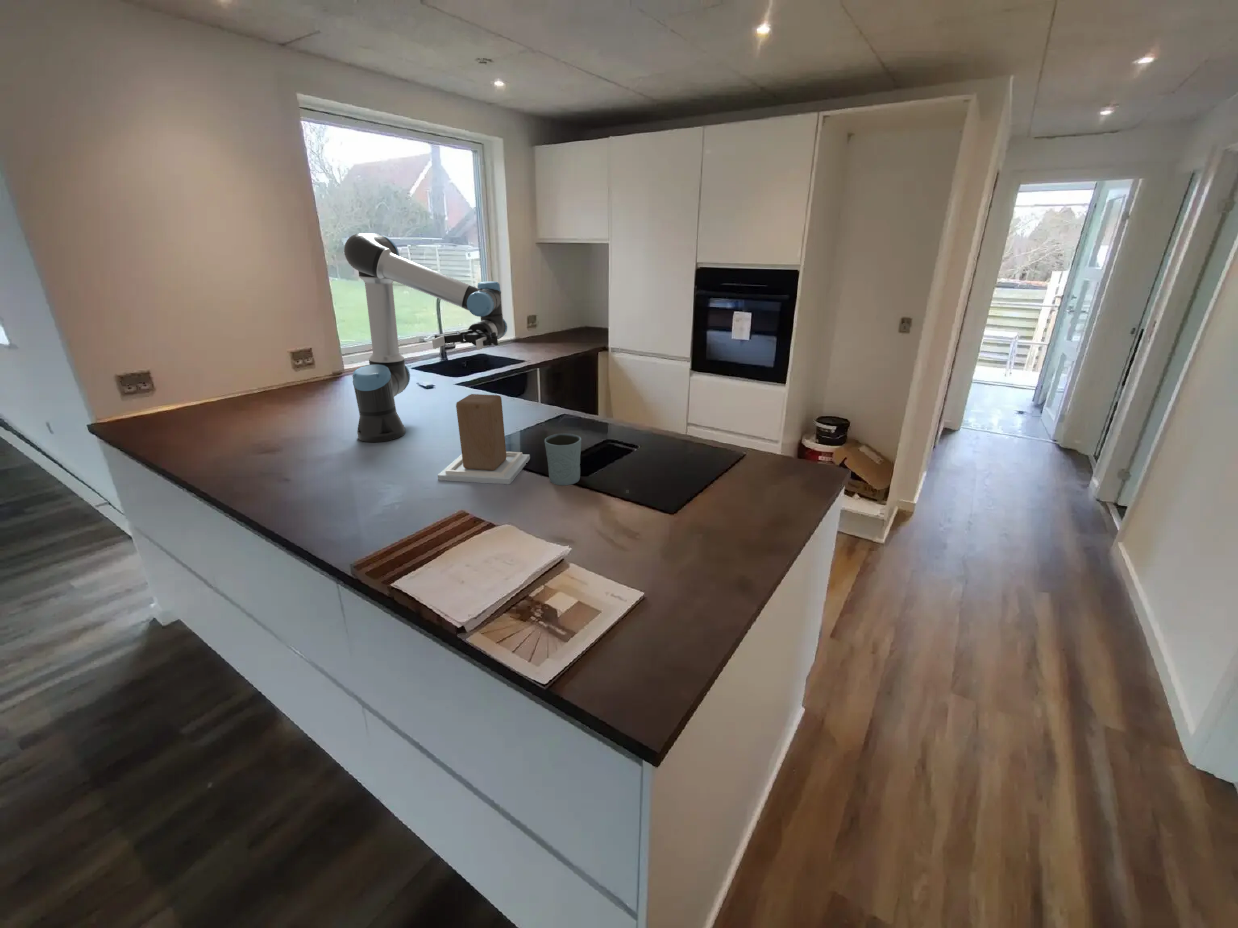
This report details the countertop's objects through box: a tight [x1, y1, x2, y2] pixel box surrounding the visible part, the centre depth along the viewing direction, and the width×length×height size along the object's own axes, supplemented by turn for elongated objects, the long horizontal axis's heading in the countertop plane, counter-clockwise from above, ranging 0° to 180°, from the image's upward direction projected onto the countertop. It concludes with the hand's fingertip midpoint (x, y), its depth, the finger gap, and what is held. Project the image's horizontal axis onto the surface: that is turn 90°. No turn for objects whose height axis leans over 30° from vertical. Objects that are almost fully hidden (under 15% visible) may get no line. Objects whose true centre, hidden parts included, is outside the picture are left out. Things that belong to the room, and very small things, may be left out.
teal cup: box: [544, 433, 582, 486], centre depth 151 cm, size 10×10×12 cm
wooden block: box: [455, 393, 507, 470], centre depth 156 cm, size 10×10×20 cm
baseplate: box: [437, 451, 531, 485], centre depth 159 cm, size 19×21×2 cm
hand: (455, 344), depth 160 cm, fingers open, 13 cm apart
